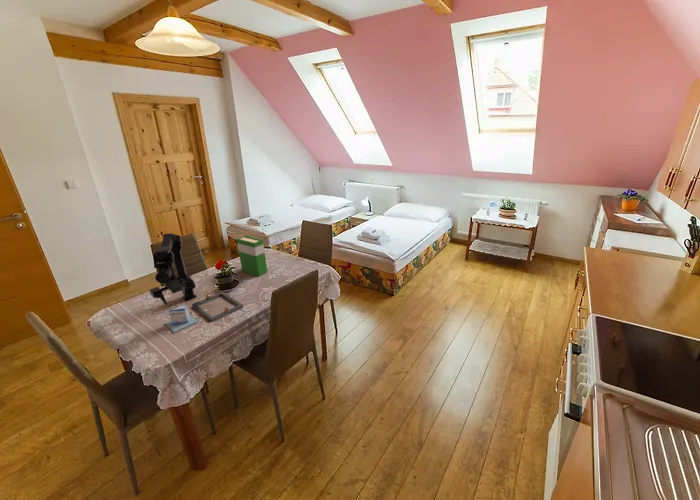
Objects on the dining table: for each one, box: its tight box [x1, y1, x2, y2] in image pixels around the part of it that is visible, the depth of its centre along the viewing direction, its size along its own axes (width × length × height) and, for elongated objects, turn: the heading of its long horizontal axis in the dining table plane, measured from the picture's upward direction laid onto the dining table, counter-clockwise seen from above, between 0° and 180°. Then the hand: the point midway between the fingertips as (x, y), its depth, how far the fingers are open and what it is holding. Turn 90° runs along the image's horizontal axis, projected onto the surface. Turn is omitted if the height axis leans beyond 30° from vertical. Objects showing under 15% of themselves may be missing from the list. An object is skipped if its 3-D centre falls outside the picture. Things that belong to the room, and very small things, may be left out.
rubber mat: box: [164, 313, 199, 334], centre depth 167 cm, size 13×12×1 cm
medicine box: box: [168, 304, 190, 325], centre depth 165 cm, size 8×4×9 cm, turn 105°
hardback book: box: [236, 235, 268, 277], centre depth 218 cm, size 18×7×24 cm, turn 57°
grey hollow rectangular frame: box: [191, 291, 244, 323], centre depth 180 cm, size 24×19×4 cm
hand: (176, 301), depth 162 cm, fingers open, 9 cm apart
